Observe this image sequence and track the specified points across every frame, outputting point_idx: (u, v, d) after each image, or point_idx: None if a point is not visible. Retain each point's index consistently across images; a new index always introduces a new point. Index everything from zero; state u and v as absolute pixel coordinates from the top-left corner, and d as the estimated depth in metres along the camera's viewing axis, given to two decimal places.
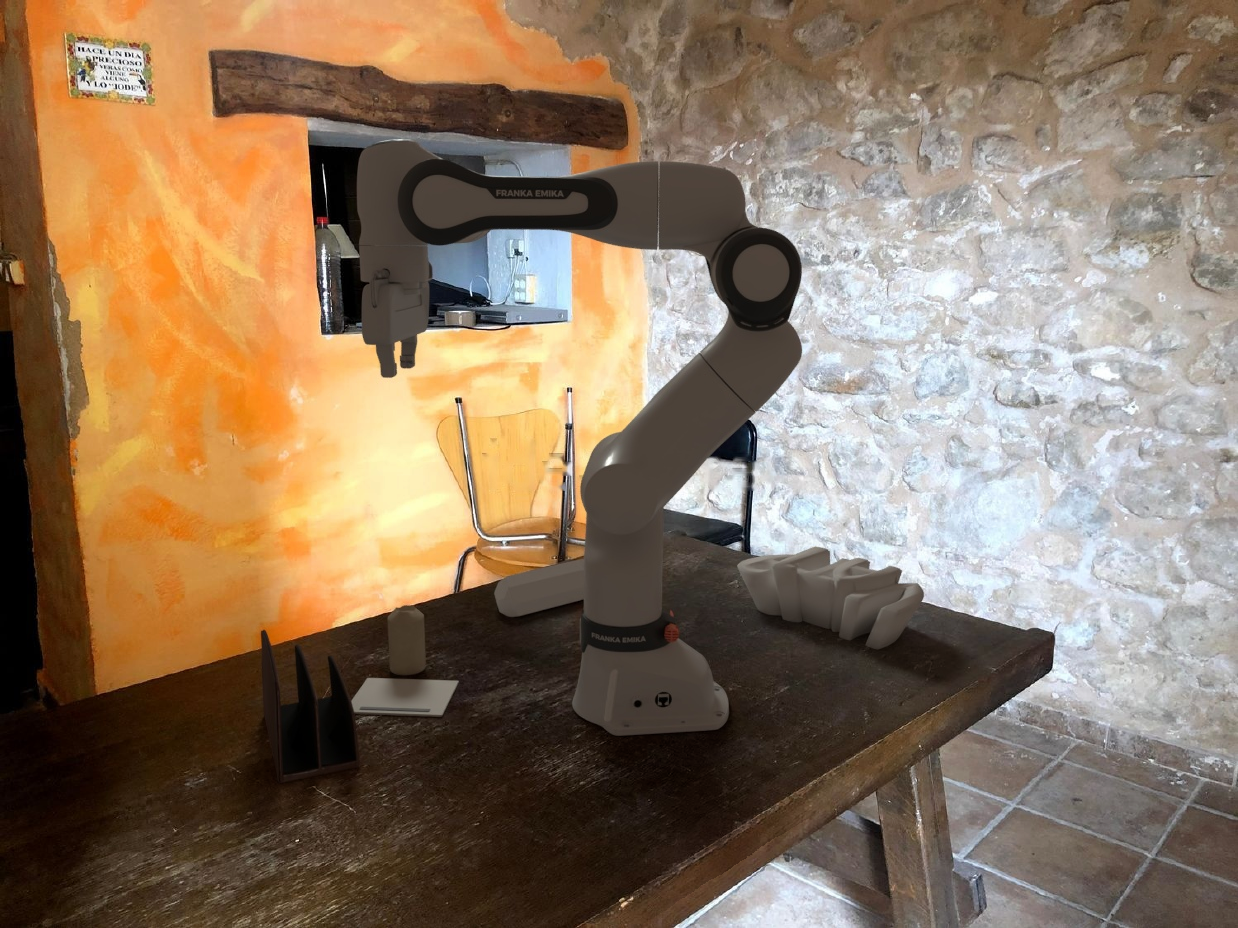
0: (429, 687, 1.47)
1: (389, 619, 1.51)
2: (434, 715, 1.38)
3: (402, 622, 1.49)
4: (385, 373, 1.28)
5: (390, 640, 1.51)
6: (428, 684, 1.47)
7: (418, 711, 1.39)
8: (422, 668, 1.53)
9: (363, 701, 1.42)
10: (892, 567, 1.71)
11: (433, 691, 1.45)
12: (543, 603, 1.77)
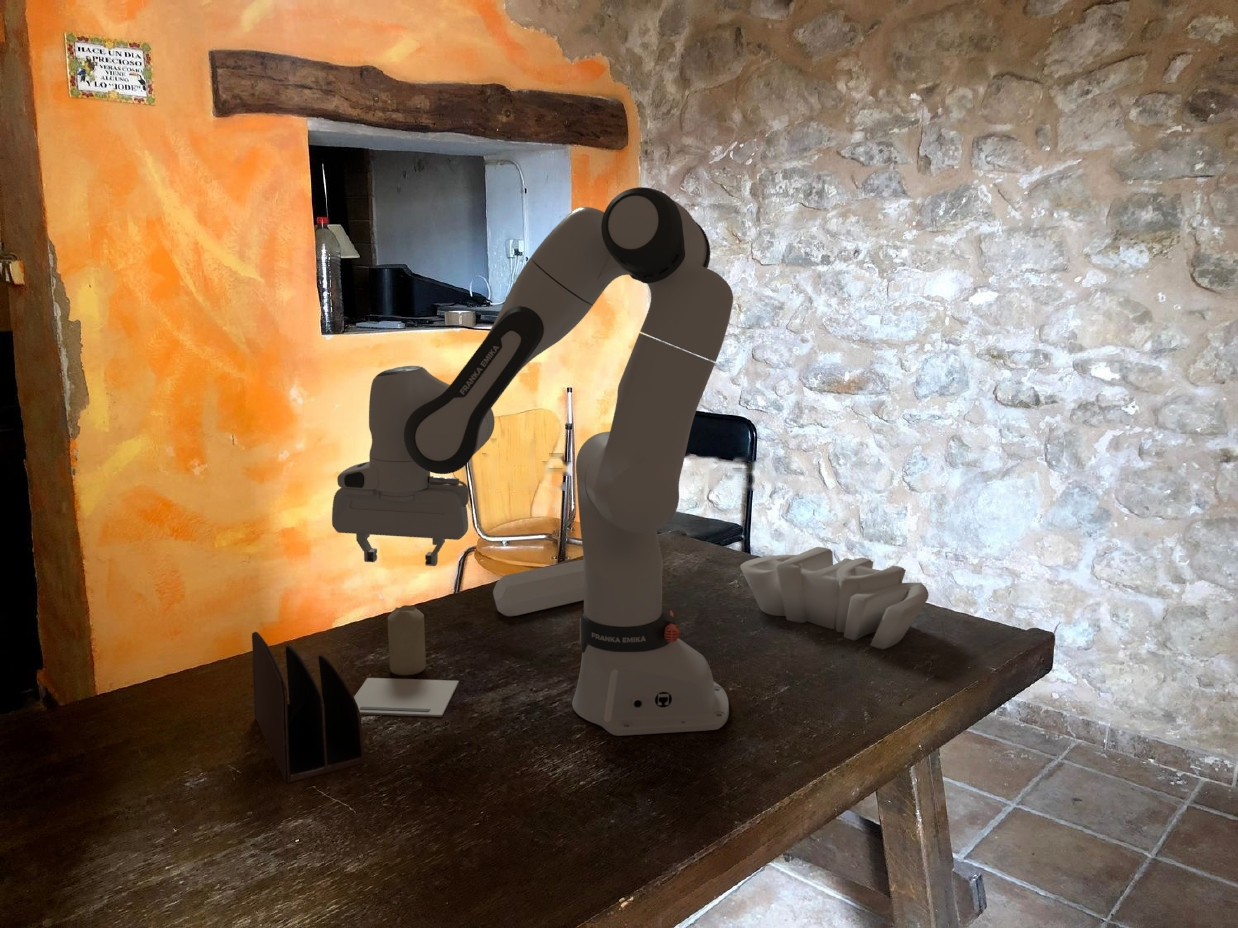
0: (429, 687, 1.47)
1: (389, 619, 1.51)
2: (434, 715, 1.38)
3: (402, 622, 1.49)
4: (435, 562, 1.49)
5: (390, 640, 1.51)
6: (428, 684, 1.47)
7: (418, 711, 1.39)
8: (422, 668, 1.53)
9: (363, 701, 1.42)
10: (896, 567, 1.71)
11: (433, 691, 1.45)
12: (541, 603, 1.77)
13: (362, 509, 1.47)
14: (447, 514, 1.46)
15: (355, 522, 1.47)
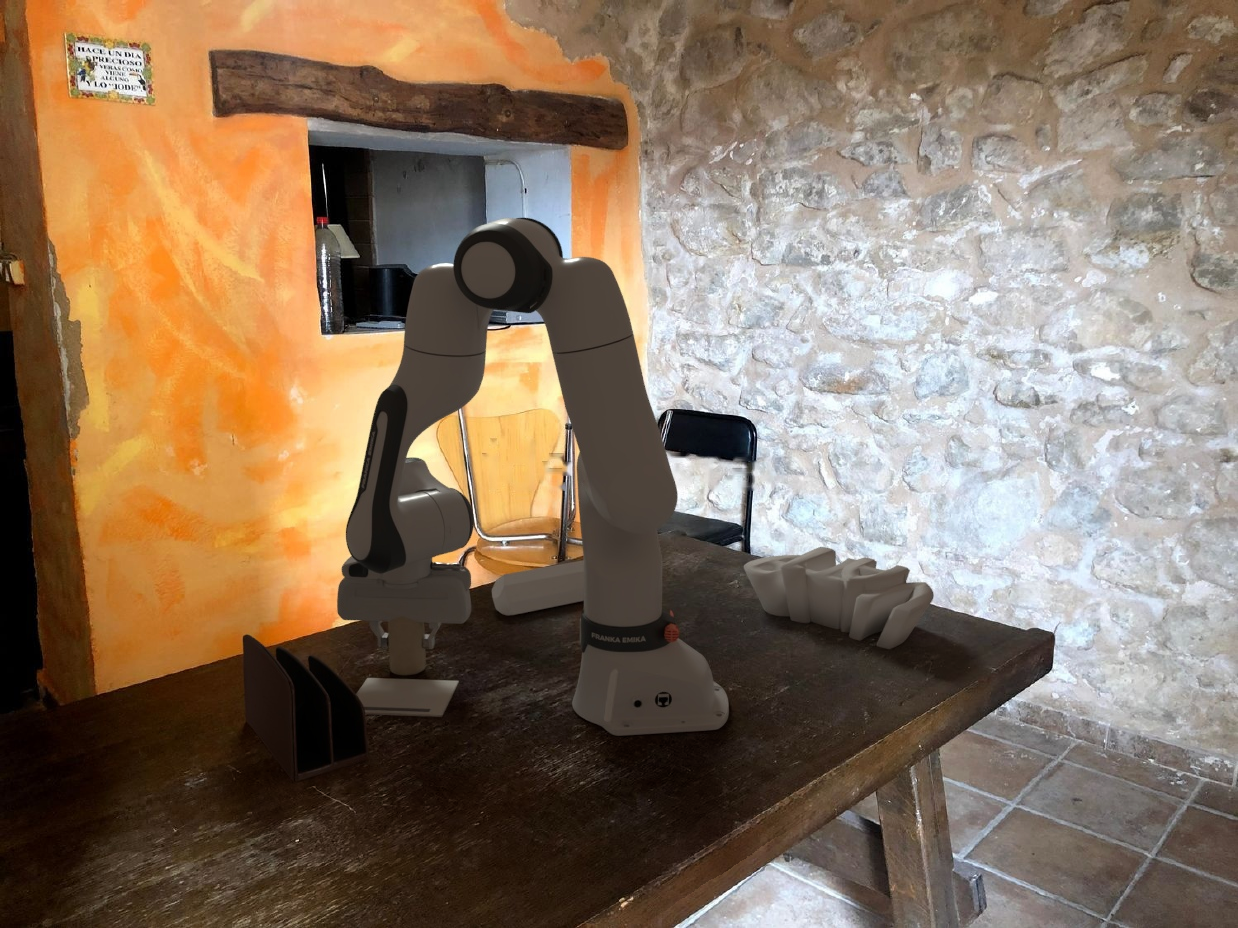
0: (429, 687, 1.47)
1: None
2: (434, 715, 1.38)
3: (402, 622, 1.49)
4: (432, 644, 1.52)
5: (390, 640, 1.51)
6: (428, 684, 1.47)
7: (418, 711, 1.39)
8: (422, 668, 1.53)
9: (363, 701, 1.42)
10: (900, 566, 1.72)
11: (433, 691, 1.45)
12: (539, 603, 1.77)
13: (367, 597, 1.50)
14: (450, 599, 1.49)
15: (360, 610, 1.50)
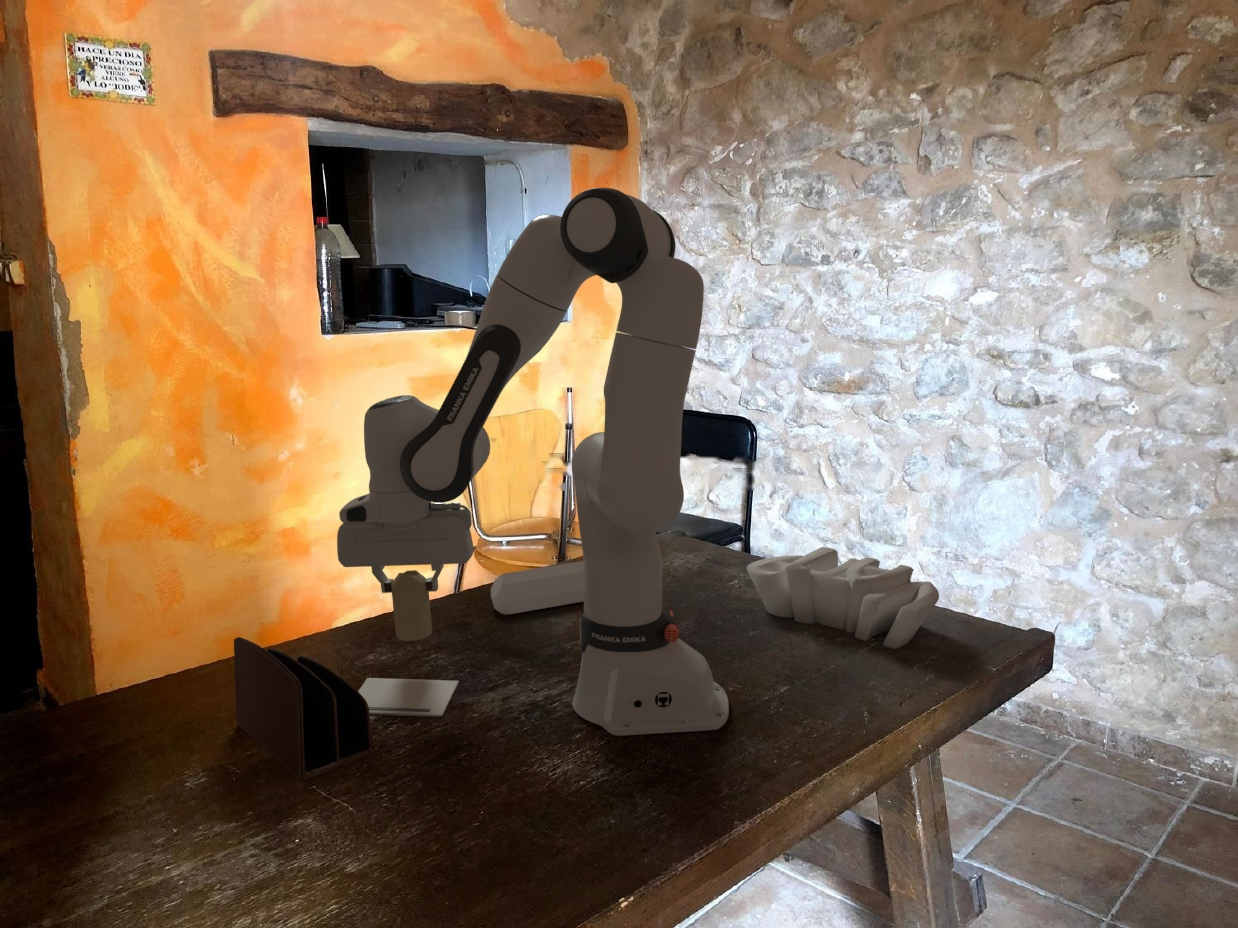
0: (429, 687, 1.47)
1: (392, 584, 1.49)
2: (434, 715, 1.38)
3: (405, 586, 1.48)
4: (436, 587, 1.50)
5: (394, 606, 1.49)
6: (428, 684, 1.47)
7: (418, 711, 1.39)
8: (428, 633, 1.51)
9: None
10: (903, 566, 1.72)
11: (433, 691, 1.45)
12: (538, 603, 1.77)
13: (367, 542, 1.47)
14: (451, 539, 1.47)
15: (360, 555, 1.48)
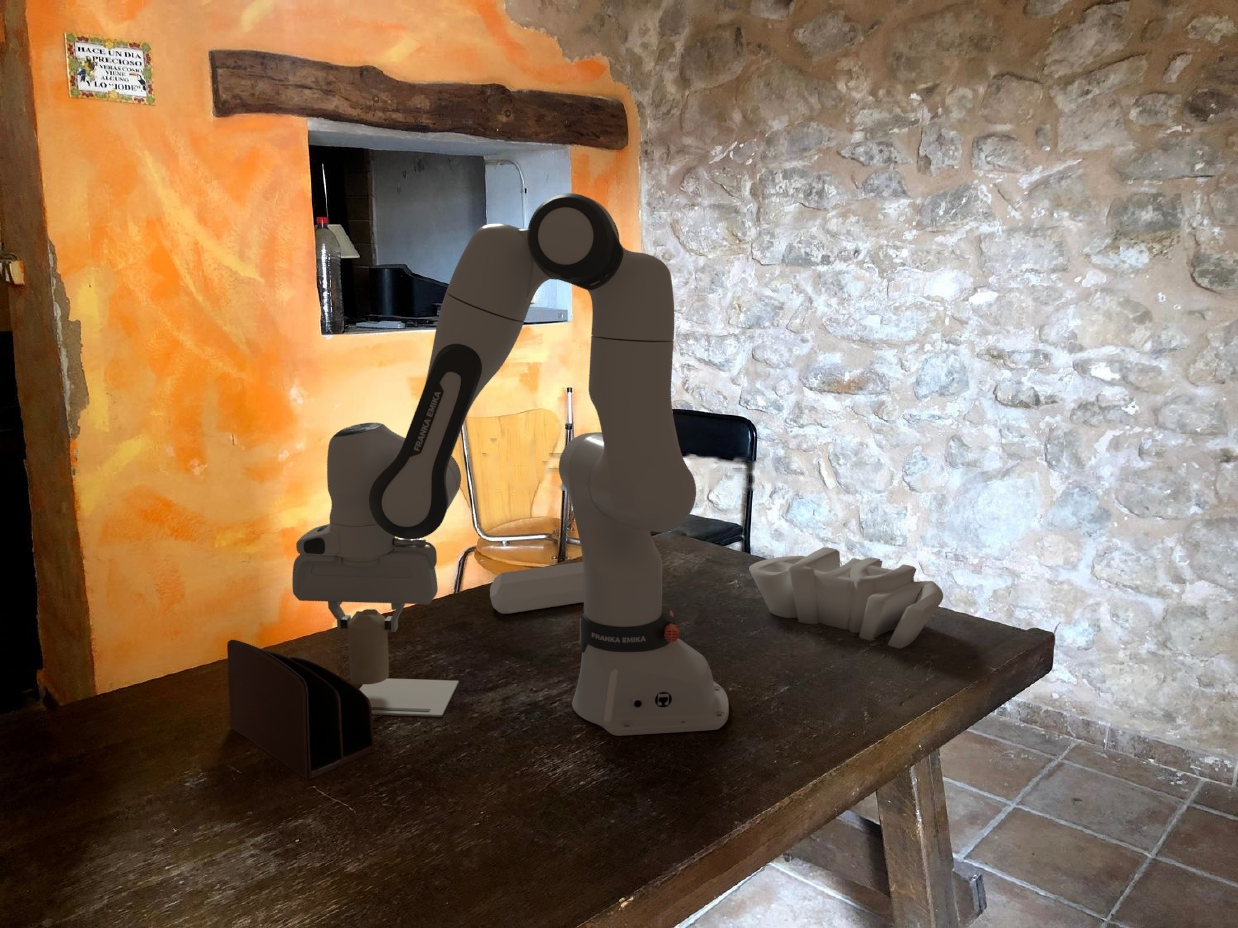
0: (429, 687, 1.47)
1: (349, 623, 1.40)
2: (434, 715, 1.38)
3: (362, 626, 1.39)
4: (395, 627, 1.41)
5: (350, 646, 1.41)
6: (428, 684, 1.47)
7: (418, 711, 1.39)
8: (384, 677, 1.42)
9: None
10: (906, 565, 1.72)
11: (433, 691, 1.45)
12: (536, 603, 1.78)
13: (325, 575, 1.39)
14: (414, 578, 1.38)
15: (317, 589, 1.39)
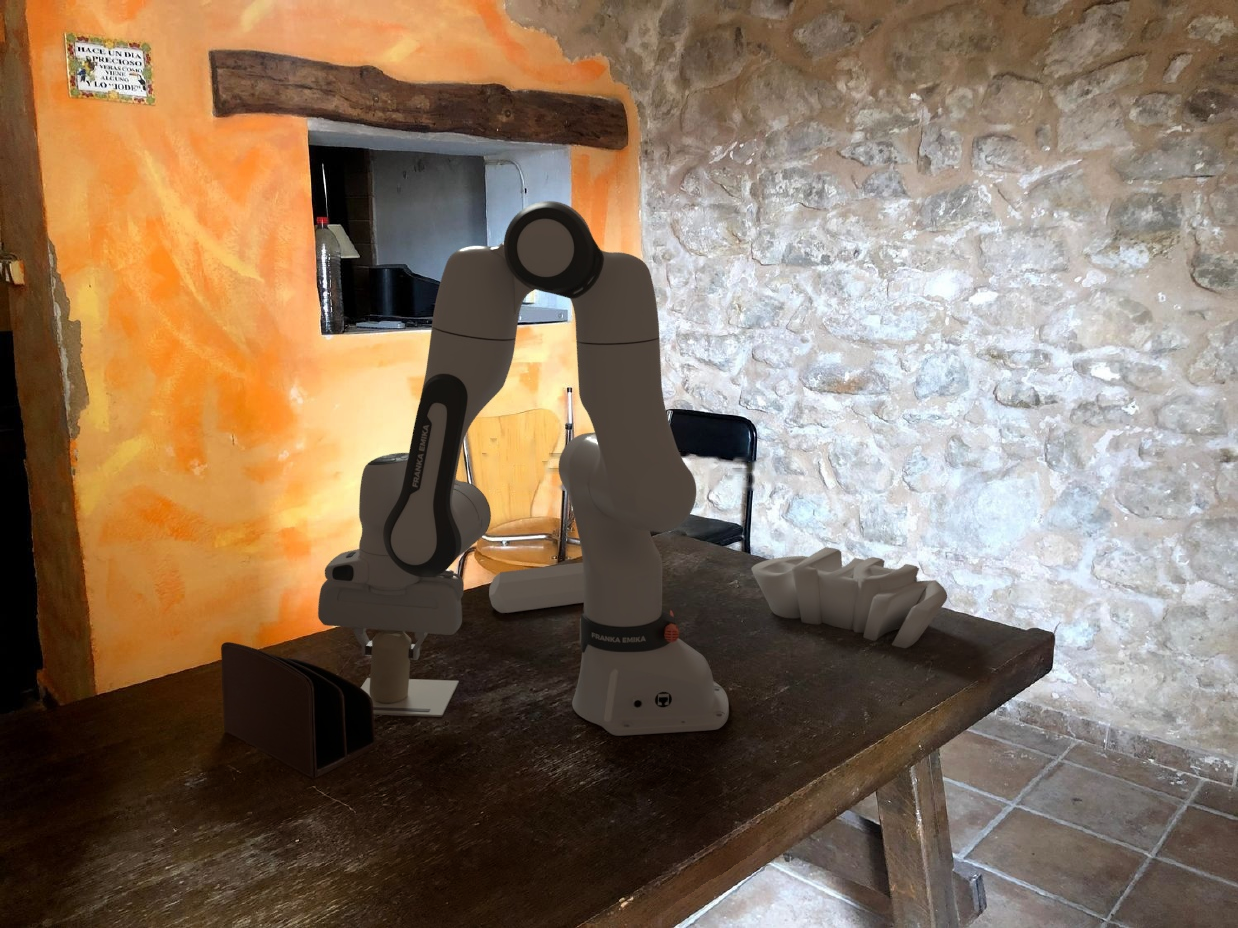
0: (429, 687, 1.47)
1: (374, 641, 1.40)
2: (434, 715, 1.38)
3: (387, 646, 1.39)
4: (417, 655, 1.42)
5: (372, 663, 1.41)
6: (428, 684, 1.47)
7: (418, 711, 1.39)
8: (403, 696, 1.42)
9: None
10: (909, 565, 1.72)
11: (433, 691, 1.45)
12: (535, 603, 1.78)
13: (351, 602, 1.39)
14: (440, 608, 1.39)
15: (342, 615, 1.40)
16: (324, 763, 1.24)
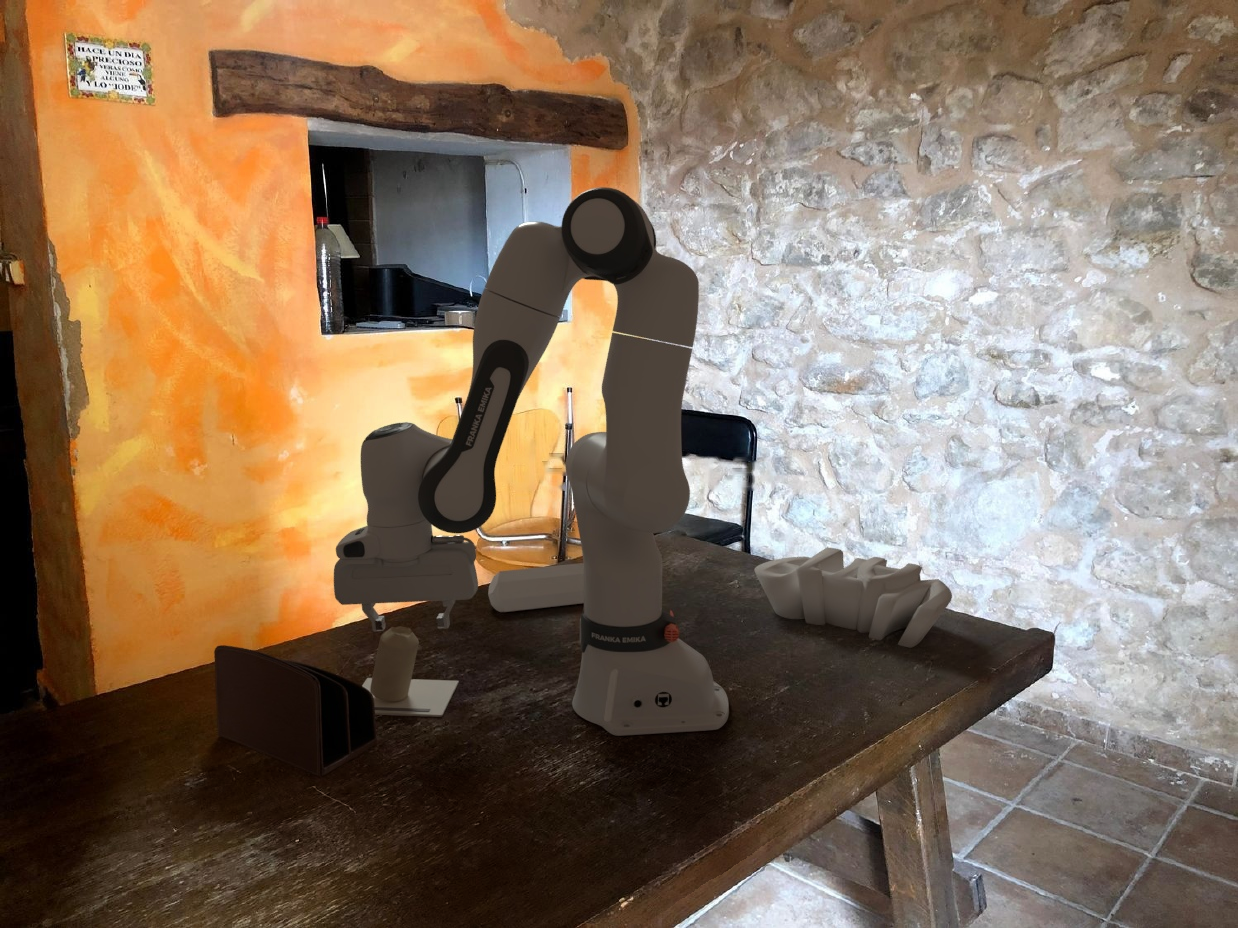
0: (429, 687, 1.47)
1: (382, 638, 1.40)
2: (434, 715, 1.38)
3: (395, 645, 1.39)
4: (448, 623, 1.42)
5: (378, 660, 1.41)
6: (428, 684, 1.47)
7: (418, 711, 1.39)
8: (404, 696, 1.42)
9: None
10: (912, 564, 1.73)
11: (433, 691, 1.45)
12: (533, 602, 1.78)
13: (366, 578, 1.39)
14: (455, 574, 1.39)
15: (359, 592, 1.40)
16: (329, 761, 1.24)
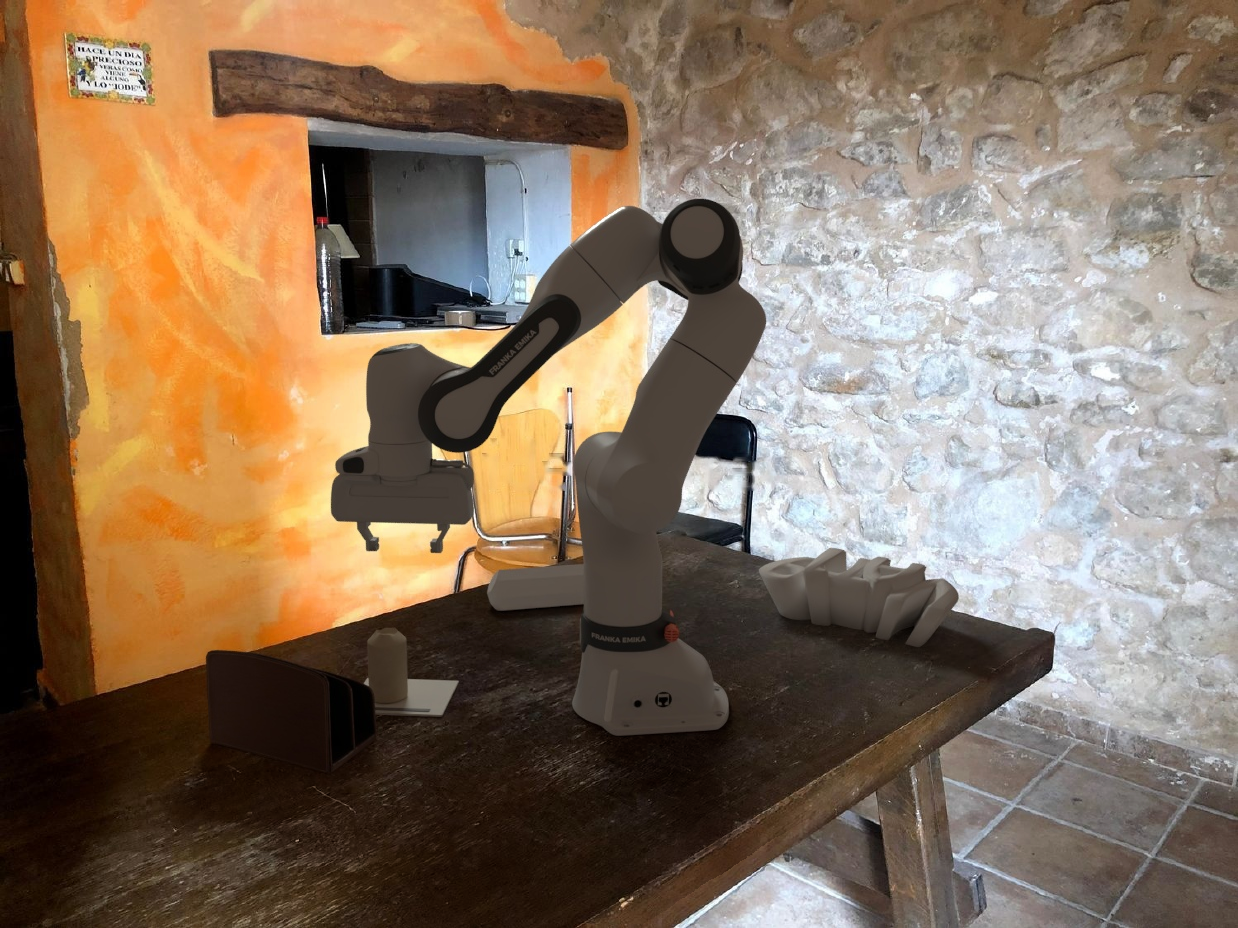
0: (429, 687, 1.47)
1: (369, 642, 1.41)
2: (434, 715, 1.38)
3: (383, 645, 1.39)
4: (441, 548, 1.43)
5: (370, 665, 1.41)
6: (428, 684, 1.47)
7: (418, 711, 1.39)
8: (404, 695, 1.43)
9: None
10: (916, 564, 1.73)
11: (433, 691, 1.45)
12: (531, 602, 1.78)
13: (363, 496, 1.40)
14: (451, 498, 1.39)
15: (355, 510, 1.40)
16: (336, 757, 1.25)
